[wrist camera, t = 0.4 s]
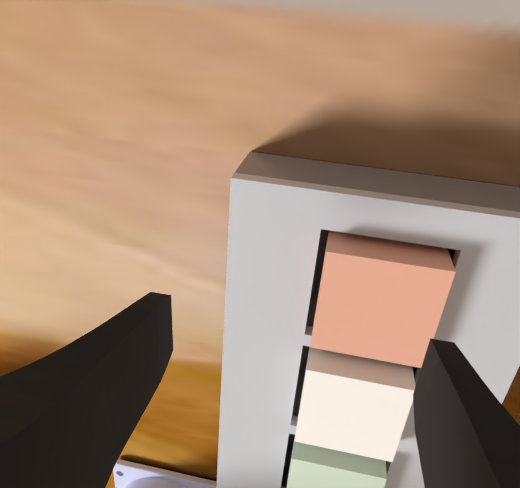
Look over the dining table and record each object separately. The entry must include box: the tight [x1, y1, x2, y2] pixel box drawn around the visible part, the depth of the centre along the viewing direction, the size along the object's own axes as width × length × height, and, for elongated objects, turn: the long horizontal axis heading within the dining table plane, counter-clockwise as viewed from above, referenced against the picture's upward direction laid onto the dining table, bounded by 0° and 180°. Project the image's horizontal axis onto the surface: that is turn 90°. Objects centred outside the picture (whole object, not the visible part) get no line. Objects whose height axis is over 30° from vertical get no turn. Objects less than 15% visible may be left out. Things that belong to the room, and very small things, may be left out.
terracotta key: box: [310, 230, 456, 368], centre depth 18 cm, size 4×4×2 cm
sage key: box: [286, 437, 387, 488], centre depth 23 cm, size 4×4×2 cm
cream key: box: [295, 347, 416, 462], centre depth 20 cm, size 4×4×2 cm
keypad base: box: [216, 152, 520, 488], centre depth 22 cm, size 19×12×3 cm, turn 176°
